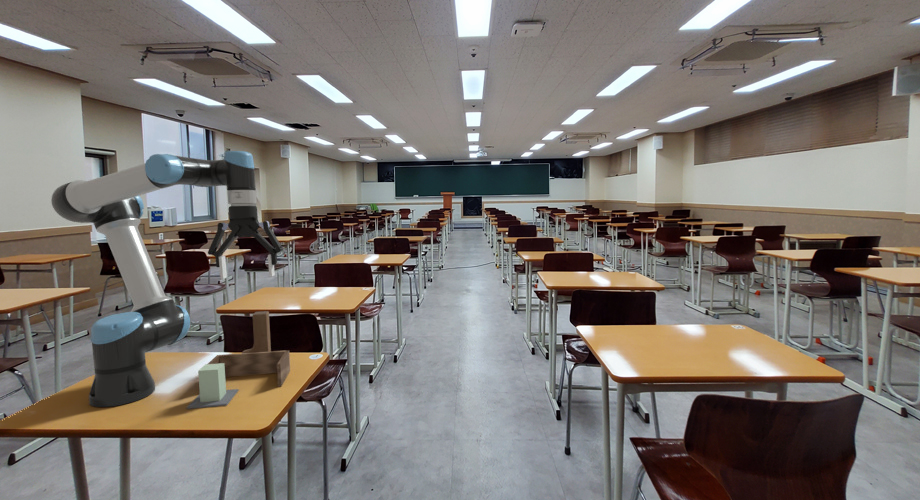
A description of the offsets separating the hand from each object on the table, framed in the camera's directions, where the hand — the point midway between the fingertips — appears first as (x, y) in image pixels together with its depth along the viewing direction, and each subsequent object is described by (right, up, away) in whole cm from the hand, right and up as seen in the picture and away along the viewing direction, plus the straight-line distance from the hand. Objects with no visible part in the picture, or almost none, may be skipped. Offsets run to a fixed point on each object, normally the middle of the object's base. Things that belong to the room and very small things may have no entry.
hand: (248, 277), depth 128 cm
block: (-7, -34, -6) cm, 35 cm away
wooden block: (-8, -32, +22) cm, 40 cm away
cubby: (-3, -33, +7) cm, 34 cm away
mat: (-7, -34, -6) cm, 35 cm away
